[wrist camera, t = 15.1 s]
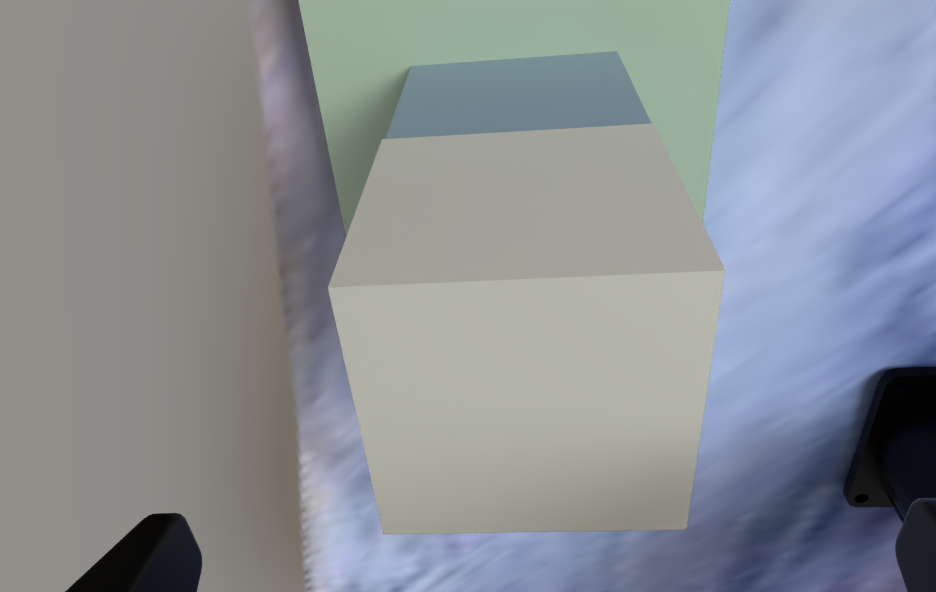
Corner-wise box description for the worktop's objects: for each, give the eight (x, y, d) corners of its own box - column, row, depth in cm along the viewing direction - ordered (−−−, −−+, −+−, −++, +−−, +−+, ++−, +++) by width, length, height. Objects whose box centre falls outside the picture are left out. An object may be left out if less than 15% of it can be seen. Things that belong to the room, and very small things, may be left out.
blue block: (610, 232, 20) (639, 343, 16) (434, 242, 20) (416, 352, 16) (616, 51, 17) (653, 127, 13) (411, 66, 17) (383, 144, 13)
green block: (684, 279, 22) (693, 301, 21) (367, 292, 23) (361, 314, 22) (724, -83, 16) (739, -76, 15) (302, -48, 17) (290, -40, 16)
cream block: (637, 340, 16) (686, 529, 12) (414, 348, 16) (383, 534, 12) (654, 123, 13) (725, 270, 9) (382, 139, 13) (328, 287, 9)
